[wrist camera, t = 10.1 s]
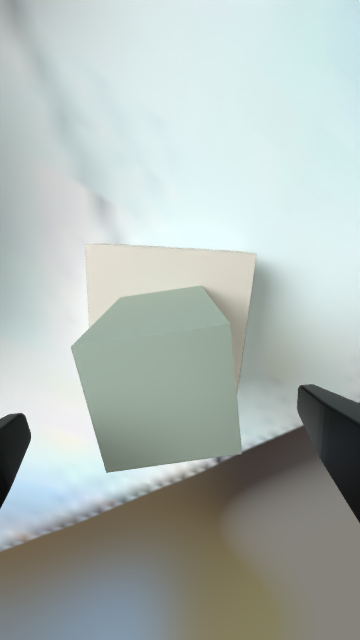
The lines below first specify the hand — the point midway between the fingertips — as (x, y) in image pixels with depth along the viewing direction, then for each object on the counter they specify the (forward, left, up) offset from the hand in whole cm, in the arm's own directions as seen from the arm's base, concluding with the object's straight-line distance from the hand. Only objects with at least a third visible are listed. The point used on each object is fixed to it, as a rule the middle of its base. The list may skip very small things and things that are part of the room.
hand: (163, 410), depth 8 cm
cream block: (0, 0, -13) cm, 13 cm away
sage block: (0, 0, -8) cm, 8 cm away
